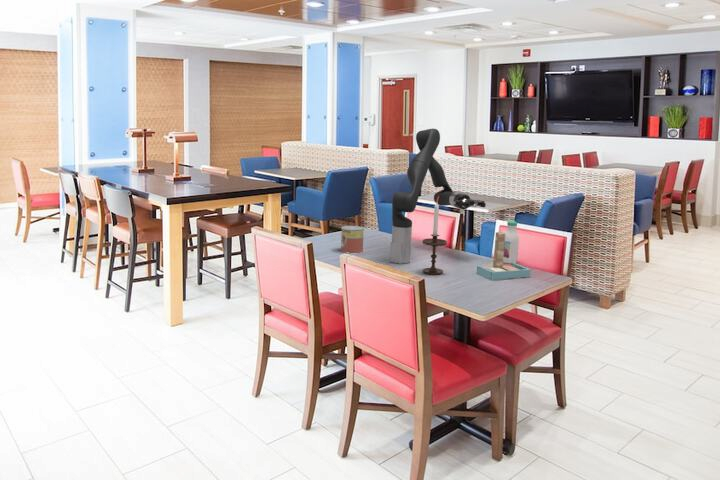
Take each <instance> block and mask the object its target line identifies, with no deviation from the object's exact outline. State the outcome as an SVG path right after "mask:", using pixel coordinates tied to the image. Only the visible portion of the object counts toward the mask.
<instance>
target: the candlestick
mask: <svg viewBox="0 0 720 480" xmlns="http://www.w3.org/2000/svg"><path fill="white" fill-rule="evenodd" d="M438 199H439V196H438V197H437V200H436V203H435V205H434V211H433V213H434V214H433V225H432V226H433V228H432V229H433V230H432V234H430V236H431V237H432V238H424V239H422V240H421V241H422V245H423V244H424V245H426V246H431V247H432V253H431V255H430V258H431V260H430V263H431V265H430V267H426V268H423V269H422V273H423V274H426V275H430V276H431V275H432V276H440V275H443V273H444V270H443V269H442V268H438V267H436V263H437V261H436V259H437V257H438V256H437V254H436V251H437V247H442V246H446V245H447V244H448V241H447V240H445V239H441V238H438V237H439V236H440V235H439V234H438V227H439V210H440V209H439V208H440V207H439V206H440V205H438Z"/></svg>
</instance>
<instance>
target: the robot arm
mask: <svg viewBox="0 0 720 480" xmlns="http://www.w3.org/2000/svg"><path fill="white" fill-rule="evenodd" d="M415 141H416V144H417V148H418V149H419V152H417V154H416V155H414V157H413V158H412V159H411V160H410V162H409V165H408V168H407V170H406V174H407V178H408V181H409V182H410V183H409V184H410V185H411V186H410V187H411V191H410V192H404V191H395V192H394V194H393V196H392V200H391V201H392V202H391V203H392V204H391V208H392V209H391V211H392V213H391V214H392V215H391V218H392V221H391V222H392V226H391V227H392V229H391V231H392V232H391V242H390V250H389V251H390V252H389V262H391V263H394V264H401V265H402V264H408V263H410V262H411V249H412V235H413V234H412V231H413V221H412V220H411V219H410V218H408V217H406V216H405V215H404V214H403V213H413V212H414V211H415V210H416V206H417V204H418V201H419V196H420V193H421V190H422V187H423V183H424V181H425V179H426V176H427V173H428V171H429V175H430V178H431V181H432V184H433V186H434V187H435V188H443V189H441V190H439V191H436V192H435V193H434V195H433V202H434V203H435V204H436V200H437V197H438V196H439V199H438V205H439V206H441V207H445V206H447V207H448V206H451V207H453V208H456V209H459V210H467V209H468V208H477V207H480V208H486V205H487V203H486V202H485V201H484V200H481V199H473V198H471V197H470V196H469V195H468V194H466V193H462V192H456V191H453V189H452V187H451V186H450V184H449V183H448V181H447V178H446V174H445V171H444V168H443V167H442V165H441V164H440V163H439V162H438V161H437V159H436V158H435V157H434V155H435V152H436V151H437V148H439V147H438V146H439V145H440V141H441V134H440V131H439V130H438V129H437V128H429V129H428V128H427V129H423V130H420V131H418V132H417V133H416V136H415Z"/></svg>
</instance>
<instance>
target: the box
mask: <svg viewBox="0 0 720 480" xmlns="http://www.w3.org/2000/svg"><path fill="white" fill-rule="evenodd" d="M511 264H512V266H511V267H515V268H517V269H520V270H510V271H497V272H492V271H490V270H488V269H486V268H484V267H485V266H484V267H483V266H481V265H479V264H478V265H476V274H478V275H479V276H481V277H484V278H486V279H487V280H490V281H498V280H499V279H501V280H510V279H509V278H514V279H522V278H521V277H526V278H531V272H532V270H531V269H530V268H528V267H525V266H523V265H521V264H518V263H511Z"/></svg>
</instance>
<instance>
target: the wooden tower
mask: <svg viewBox="0 0 720 480" xmlns="http://www.w3.org/2000/svg"><path fill="white" fill-rule="evenodd" d="M494 239H495V240H494V251H493V261H492V262H493V263H492V266H487V267H486V266H484V268H486V269H489V268H501V269H502V268H503V267H512V266H510V265H504V262H503V255H504V243H505V232H502V231H499V232H497V231H496V232H495V238H494Z"/></svg>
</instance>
